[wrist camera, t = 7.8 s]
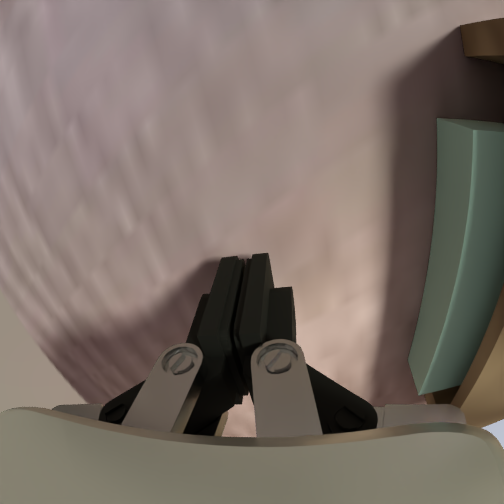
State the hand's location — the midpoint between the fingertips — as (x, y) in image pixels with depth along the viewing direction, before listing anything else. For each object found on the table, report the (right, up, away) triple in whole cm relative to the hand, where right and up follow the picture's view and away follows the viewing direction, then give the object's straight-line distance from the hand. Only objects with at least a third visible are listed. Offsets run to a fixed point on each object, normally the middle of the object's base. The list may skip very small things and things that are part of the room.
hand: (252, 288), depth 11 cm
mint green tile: (+10, +1, -1) cm, 10 cm away
